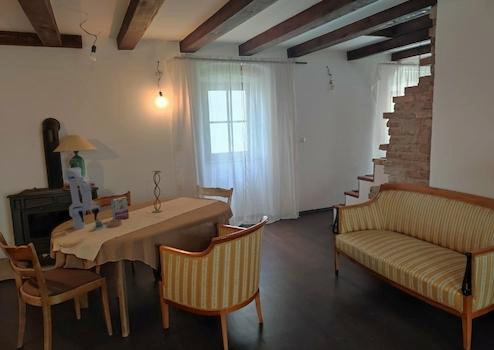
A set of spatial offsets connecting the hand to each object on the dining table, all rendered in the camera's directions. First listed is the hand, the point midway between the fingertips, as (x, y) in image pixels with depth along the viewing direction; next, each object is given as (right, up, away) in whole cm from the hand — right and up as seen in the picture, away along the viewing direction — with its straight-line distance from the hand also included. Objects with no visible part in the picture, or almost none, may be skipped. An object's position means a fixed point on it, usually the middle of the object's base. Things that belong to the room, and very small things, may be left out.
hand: (89, 221), depth 245 cm
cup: (+9, -6, +22) cm, 25 cm away
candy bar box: (+7, -4, +41) cm, 42 cm away
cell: (0, -7, +16) cm, 17 cm away
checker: (0, -8, +16) cm, 18 cm away
